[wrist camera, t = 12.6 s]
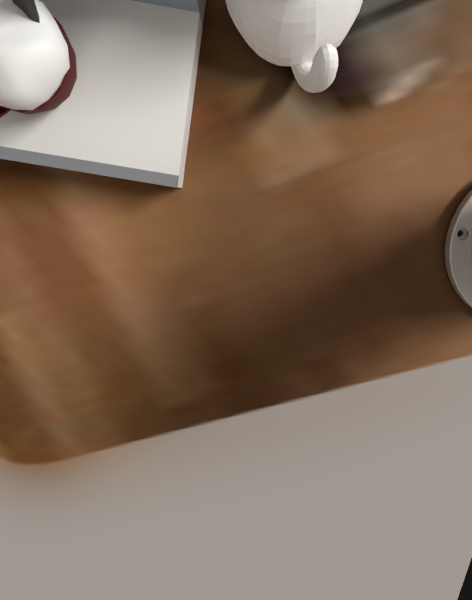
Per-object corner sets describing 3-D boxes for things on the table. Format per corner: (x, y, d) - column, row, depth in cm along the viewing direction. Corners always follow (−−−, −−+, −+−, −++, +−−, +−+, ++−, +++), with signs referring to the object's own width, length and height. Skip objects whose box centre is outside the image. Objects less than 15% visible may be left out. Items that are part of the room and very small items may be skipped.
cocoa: (16, 143, 31) (-119, 131, 20) (-39, 52, 30) (-219, -18, 18) (134, 75, 30) (64, 20, 18) (84, -24, 28) (-28, -153, 17)
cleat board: (206, -3, 31) (189, -117, 20) (182, 187, 34) (154, 186, 23) (-57, -51, 31) (-235, -198, 19) (-58, 148, 34) (-212, 126, 22)
